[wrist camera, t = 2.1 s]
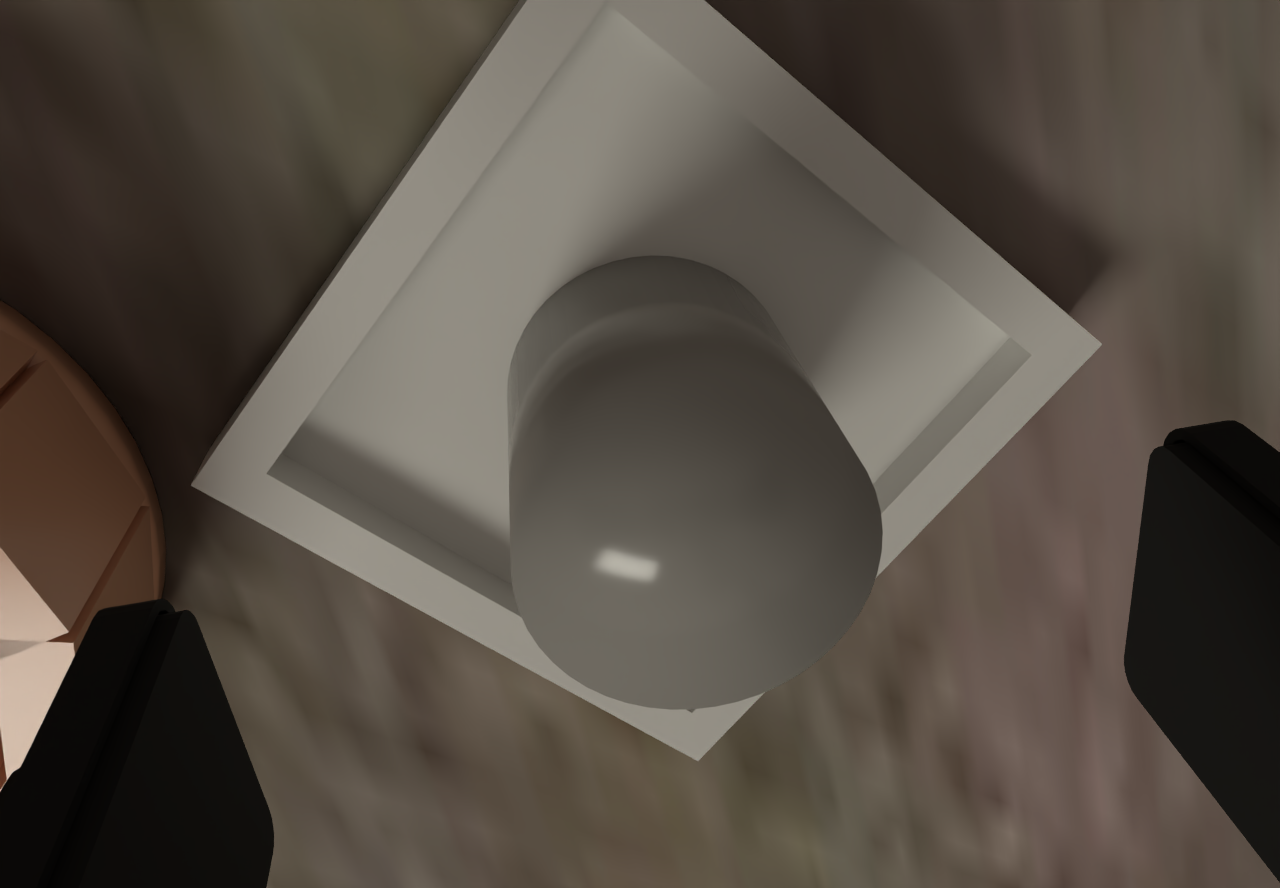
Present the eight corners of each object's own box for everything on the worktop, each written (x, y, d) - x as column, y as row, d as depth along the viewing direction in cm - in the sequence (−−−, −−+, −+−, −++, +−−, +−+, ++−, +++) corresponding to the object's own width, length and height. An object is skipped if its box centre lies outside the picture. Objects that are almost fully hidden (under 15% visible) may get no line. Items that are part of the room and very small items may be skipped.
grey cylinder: (844, 361, 18) (957, 519, 14) (670, 558, 19) (721, 761, 15) (624, 196, 16) (672, 313, 12) (450, 423, 18) (434, 604, 13)
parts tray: (1067, 317, 19) (1102, 344, 18) (687, 717, 21) (697, 761, 20) (586, -98, 15) (593, -96, 14) (209, 449, 18) (190, 486, 17)
